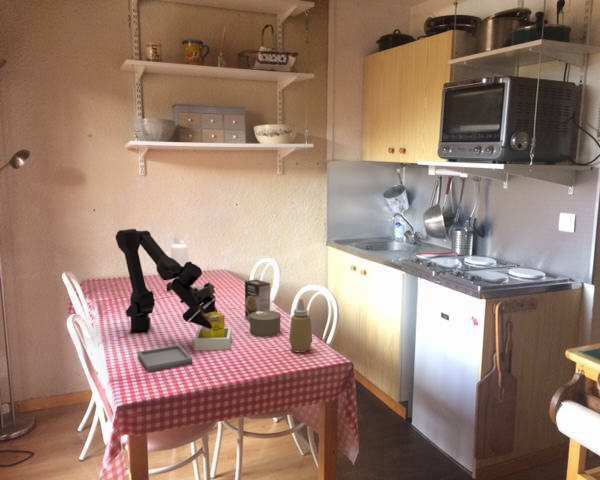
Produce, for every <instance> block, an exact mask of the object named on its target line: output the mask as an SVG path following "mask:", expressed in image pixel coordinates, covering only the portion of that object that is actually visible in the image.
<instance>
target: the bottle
mask: <svg viewBox="0 0 600 480" xmlns="http://www.w3.org/2000/svg"><path fill="white" fill-rule="evenodd" d="M173 242H174V243H173V244H172V245H171V247H170V255H171V256H170V258H173V259H174V260H176V261H177V262H178V263H179V264H180V265H181V266H183V267H184V265H185V264H186V262H189V247H188V245H187V244H186V243H185V236H182V235H177V236H173ZM178 278H179V277H178ZM175 279H176V278H175ZM173 280H174V279H171V282H172V281H173ZM171 291H172V295H176V294H175V293H174V291H173V290H172V289H171ZM176 296H177V295H176Z"/></svg>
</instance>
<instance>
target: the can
mask: <svg viewBox="0 0 600 480" xmlns="http://www.w3.org/2000/svg"><path fill="white" fill-rule="evenodd" d="M281 316H282V314H281V313H280V312H278V311H276V310H275V311H274V310H270V311H266V310H265V311H256V312H253V313H251V314H250V315H249V317H250V321H249V333H250V335H251V336H255V337H257V336H260V337H259V338H266V337H265V336H272V337H274V336H273V335H276V336H277V334H278V333H280V334H281ZM278 335H279V334H278Z"/></svg>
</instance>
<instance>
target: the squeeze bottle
mask: <svg viewBox="0 0 600 480" xmlns="http://www.w3.org/2000/svg"><path fill="white" fill-rule="evenodd" d="M308 311H309V310H308V309H307V308H305V305H304V299H301V298H299V300H298V303H297V308H295V309H294V310H293V313H294V314H293V315H292V316H291V318H290V319H291V320H290V328H289V336H288V337H289V339H288V341H289V344H290V346H291V349H292V351H293V350H294V351H293V352H295V351H299V352H298V353H302V352H301V351H307V350H309V351H310V348H311V346H312V343H313V332H312V331H313V330H312V323H311V317H310V315H309V314H308V313H309V312H308ZM307 352H308V351H307Z"/></svg>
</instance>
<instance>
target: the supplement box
mask: <svg viewBox="0 0 600 480" xmlns="http://www.w3.org/2000/svg"><path fill="white" fill-rule="evenodd" d="M204 316H205V317H206V319H207V320H208V321H209V322H210V324H211V325H212V328H211V329H208V328H206V327H203V326H201V328H202V338H225V328H226V327H225V325H226V324H225V322H226V321H225V314H223V313H220V312H218V313H217V312H211V313H207V314H204Z"/></svg>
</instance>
